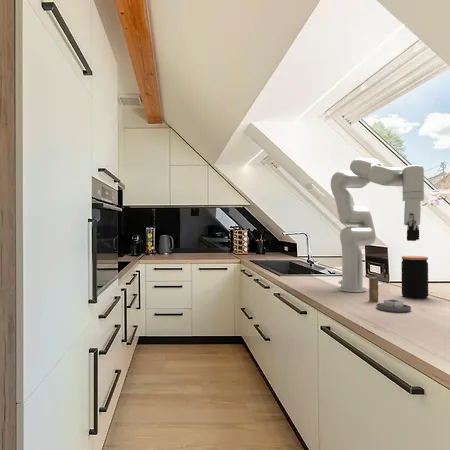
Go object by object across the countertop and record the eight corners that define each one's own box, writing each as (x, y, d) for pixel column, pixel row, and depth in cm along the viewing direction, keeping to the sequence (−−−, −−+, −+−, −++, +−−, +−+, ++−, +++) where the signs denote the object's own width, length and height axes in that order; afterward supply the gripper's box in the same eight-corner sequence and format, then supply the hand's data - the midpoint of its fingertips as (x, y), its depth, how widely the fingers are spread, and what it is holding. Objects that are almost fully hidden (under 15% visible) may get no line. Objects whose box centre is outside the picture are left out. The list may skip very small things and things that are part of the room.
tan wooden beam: (369, 301, 155) (369, 277, 155) (373, 300, 156) (373, 277, 156) (373, 302, 153) (373, 278, 153) (378, 301, 154) (378, 278, 154)
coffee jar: (419, 294, 169) (419, 255, 169) (433, 299, 159) (433, 257, 159) (397, 294, 169) (396, 255, 169) (409, 299, 158) (409, 257, 158)
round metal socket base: (369, 307, 143) (369, 299, 143) (392, 304, 148) (392, 296, 148) (394, 314, 132) (394, 305, 132) (418, 310, 137) (418, 302, 137)
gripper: (405, 198, 153) (405, 239, 153) (399, 196, 139) (399, 240, 139) (426, 197, 149) (426, 239, 149) (421, 195, 135) (421, 241, 135)
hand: (413, 240), depth 144 cm, fingers open, 9 cm apart
